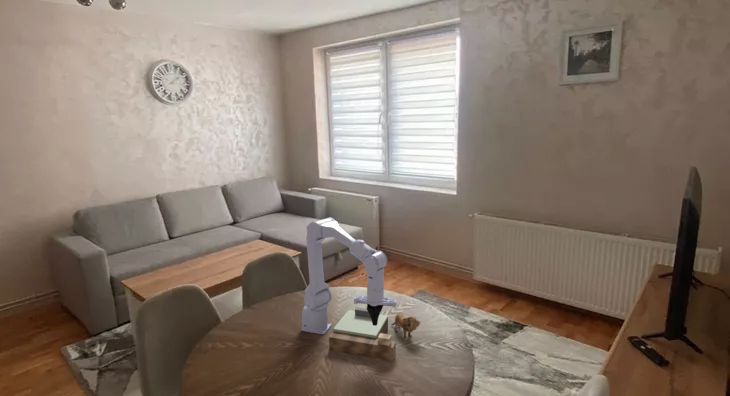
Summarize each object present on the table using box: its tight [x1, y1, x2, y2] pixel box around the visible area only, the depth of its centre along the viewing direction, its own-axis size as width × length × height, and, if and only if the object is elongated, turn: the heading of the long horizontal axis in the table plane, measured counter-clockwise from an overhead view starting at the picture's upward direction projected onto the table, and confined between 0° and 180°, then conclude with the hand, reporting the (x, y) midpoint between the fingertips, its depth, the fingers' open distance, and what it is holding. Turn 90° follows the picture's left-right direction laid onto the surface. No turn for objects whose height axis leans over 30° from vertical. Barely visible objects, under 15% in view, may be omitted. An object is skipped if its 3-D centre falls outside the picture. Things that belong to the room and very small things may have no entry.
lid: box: [332, 307, 389, 338], centre depth 155 cm, size 16×16×4 cm
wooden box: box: [328, 318, 397, 362], centre depth 153 cm, size 23×20×5 cm
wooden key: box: [378, 333, 392, 346], centre depth 142 cm, size 4×3×2 cm
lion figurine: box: [391, 313, 421, 340], centre depth 158 cm, size 15×5×9 cm, turn 35°
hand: (375, 324), depth 145 cm, fingers closed
